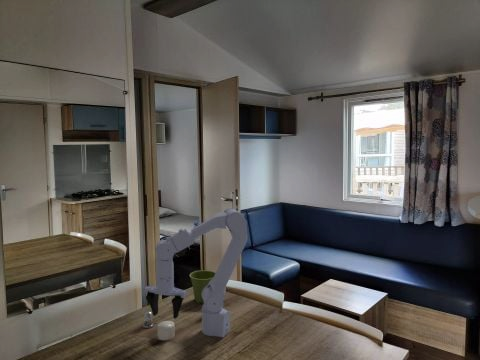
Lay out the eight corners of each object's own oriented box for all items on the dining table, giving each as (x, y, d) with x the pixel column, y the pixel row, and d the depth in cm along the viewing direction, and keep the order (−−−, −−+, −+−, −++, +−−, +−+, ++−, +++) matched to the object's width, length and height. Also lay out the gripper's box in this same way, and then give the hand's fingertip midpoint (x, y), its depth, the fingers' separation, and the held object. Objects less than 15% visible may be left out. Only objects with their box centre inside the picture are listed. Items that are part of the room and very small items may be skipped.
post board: (191, 332, 131) (191, 315, 130) (177, 346, 121) (176, 328, 121) (144, 323, 138) (143, 307, 137) (126, 335, 129) (126, 318, 128)
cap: (177, 333, 128) (177, 322, 128) (168, 341, 123) (168, 329, 122) (163, 330, 130) (163, 319, 130) (154, 338, 125) (154, 326, 124)
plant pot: (206, 308, 151) (206, 281, 150) (184, 302, 157) (183, 276, 156) (223, 298, 161) (222, 272, 160) (201, 293, 167) (200, 268, 166)
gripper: (189, 274, 126) (190, 313, 127) (151, 270, 131) (152, 308, 132) (180, 281, 120) (181, 322, 121) (140, 277, 124) (141, 317, 125)
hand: (165, 315), depth 126 cm, fingers open, 7 cm apart
